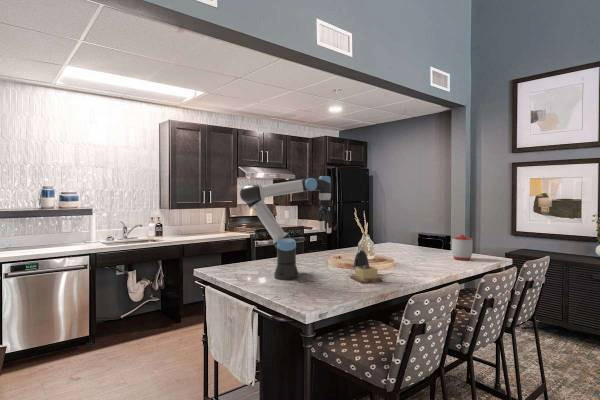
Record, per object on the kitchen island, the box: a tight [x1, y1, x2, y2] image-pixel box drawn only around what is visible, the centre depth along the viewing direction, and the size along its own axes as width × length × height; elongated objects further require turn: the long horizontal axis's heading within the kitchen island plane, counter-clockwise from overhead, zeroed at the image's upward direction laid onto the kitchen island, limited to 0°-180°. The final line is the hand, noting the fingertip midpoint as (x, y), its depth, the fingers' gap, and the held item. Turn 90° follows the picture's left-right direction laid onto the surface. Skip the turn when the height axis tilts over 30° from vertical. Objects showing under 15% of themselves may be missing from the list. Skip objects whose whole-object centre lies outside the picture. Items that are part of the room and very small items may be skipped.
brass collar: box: [354, 265, 378, 280], centre depth 219 cm, size 10×10×6 cm
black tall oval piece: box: [352, 249, 370, 272], centre depth 237 cm, size 10×10×15 cm
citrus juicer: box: [449, 234, 474, 261], centre depth 290 cm, size 16×17×20 cm
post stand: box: [350, 265, 384, 285], centre depth 219 cm, size 14×14×8 cm
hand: (324, 232), depth 240 cm, fingers open, 13 cm apart
